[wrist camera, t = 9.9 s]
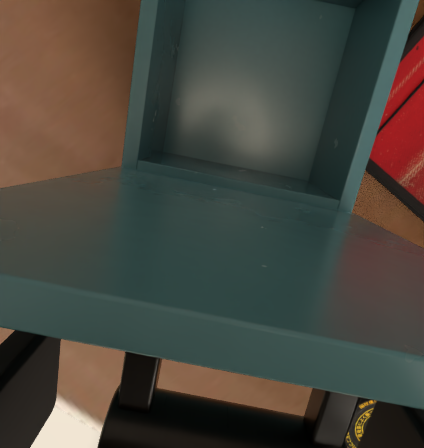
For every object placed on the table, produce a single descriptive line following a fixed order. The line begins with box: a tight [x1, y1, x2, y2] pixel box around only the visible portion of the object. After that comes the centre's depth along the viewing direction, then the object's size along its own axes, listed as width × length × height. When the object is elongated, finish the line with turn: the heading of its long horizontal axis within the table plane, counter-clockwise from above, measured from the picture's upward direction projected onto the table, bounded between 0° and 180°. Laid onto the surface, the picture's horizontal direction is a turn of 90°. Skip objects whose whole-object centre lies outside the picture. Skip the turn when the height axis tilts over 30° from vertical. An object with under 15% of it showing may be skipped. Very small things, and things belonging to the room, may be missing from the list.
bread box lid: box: [0, 167, 424, 448], centre depth 12 cm, size 15×14×5 cm
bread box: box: [121, 0, 419, 213], centre depth 22 cm, size 14×14×9 cm
